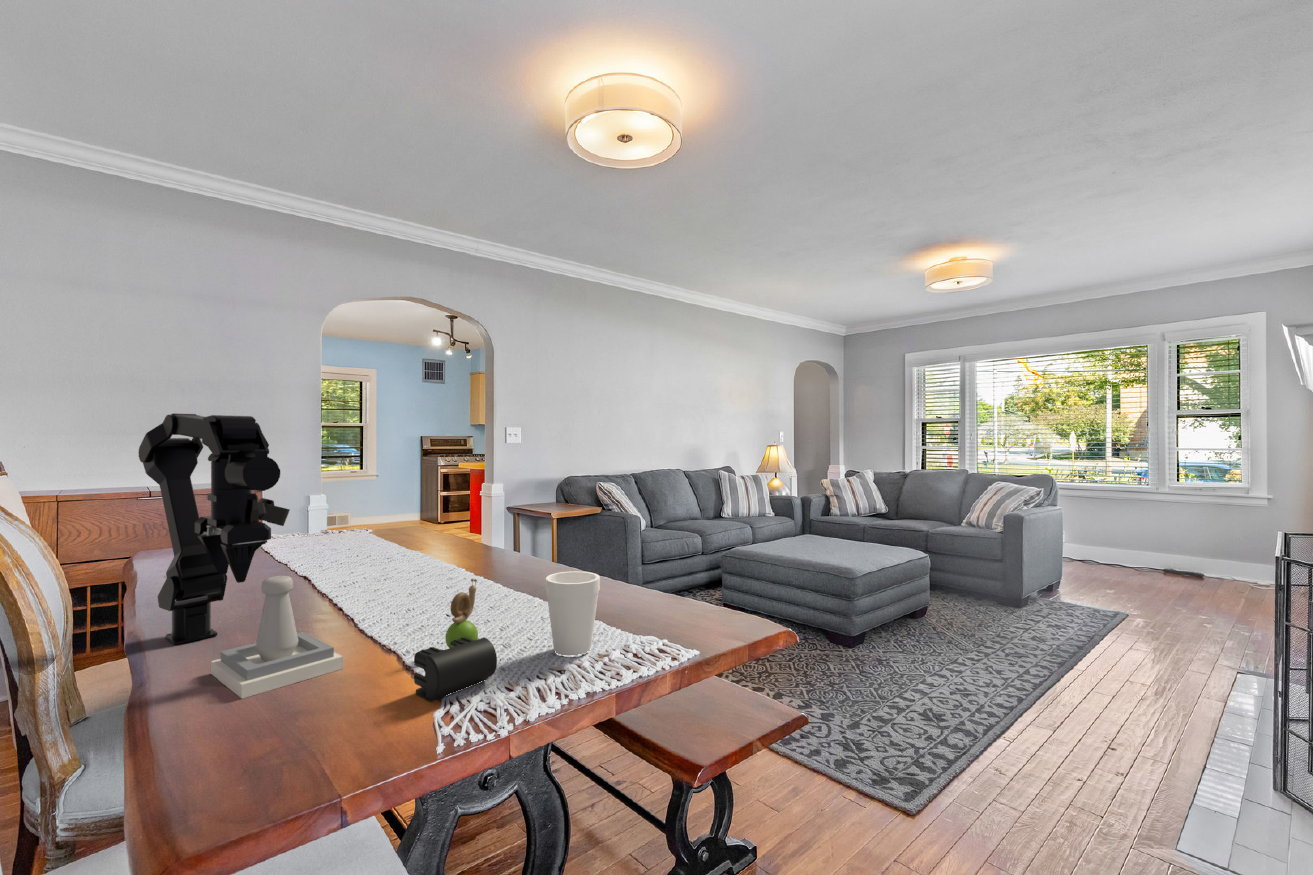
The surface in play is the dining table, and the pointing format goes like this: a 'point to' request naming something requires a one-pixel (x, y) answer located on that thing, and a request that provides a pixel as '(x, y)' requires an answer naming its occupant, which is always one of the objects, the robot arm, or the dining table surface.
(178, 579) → the robot arm
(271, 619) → the salt shaker
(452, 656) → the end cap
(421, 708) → the dining table surface
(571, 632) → the foam cup
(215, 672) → the display plinth
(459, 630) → the snail figurine
